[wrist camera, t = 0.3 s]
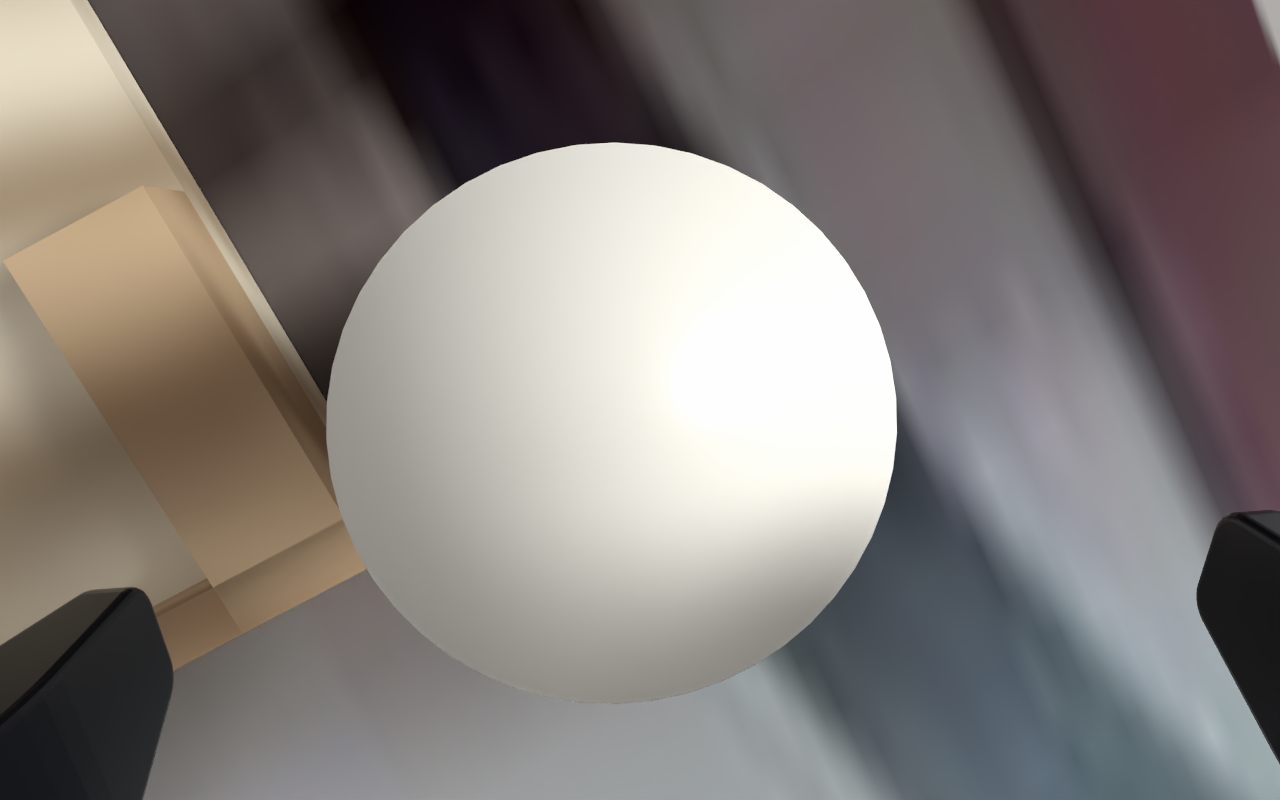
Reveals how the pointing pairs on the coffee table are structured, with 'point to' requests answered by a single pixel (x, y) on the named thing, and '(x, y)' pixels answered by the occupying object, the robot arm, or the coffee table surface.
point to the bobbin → (611, 423)
